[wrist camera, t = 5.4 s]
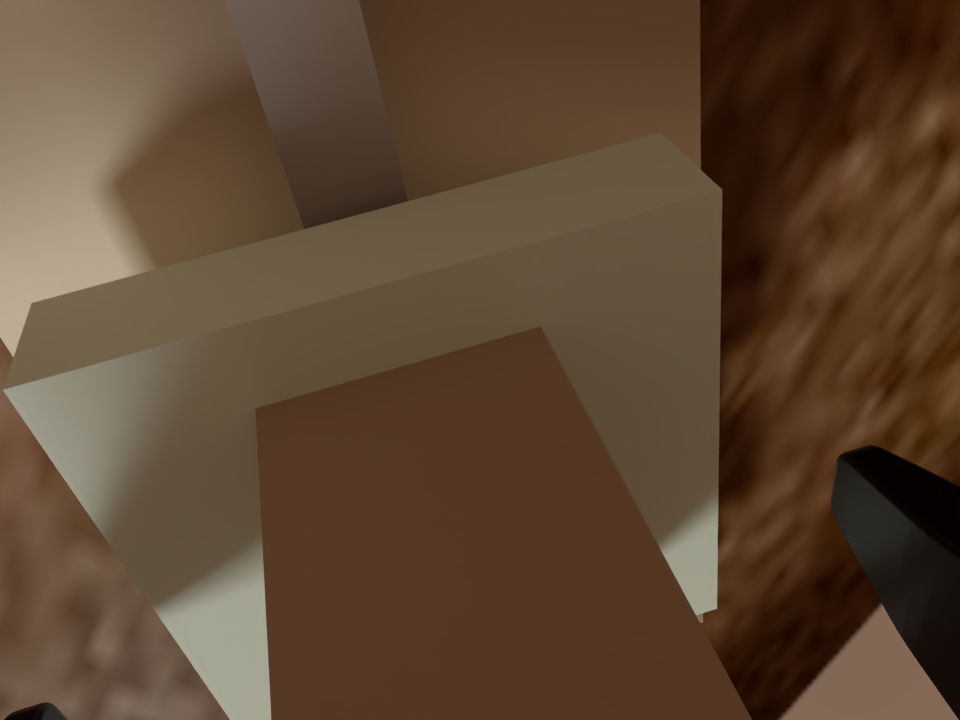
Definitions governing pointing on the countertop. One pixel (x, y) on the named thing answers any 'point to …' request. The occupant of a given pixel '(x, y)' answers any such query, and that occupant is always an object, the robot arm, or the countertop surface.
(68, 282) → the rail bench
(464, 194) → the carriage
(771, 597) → the countertop surface
